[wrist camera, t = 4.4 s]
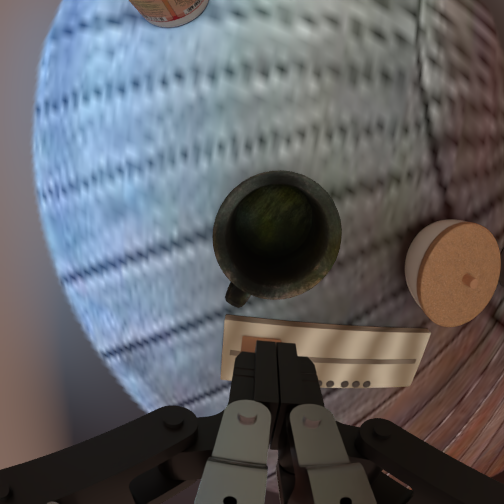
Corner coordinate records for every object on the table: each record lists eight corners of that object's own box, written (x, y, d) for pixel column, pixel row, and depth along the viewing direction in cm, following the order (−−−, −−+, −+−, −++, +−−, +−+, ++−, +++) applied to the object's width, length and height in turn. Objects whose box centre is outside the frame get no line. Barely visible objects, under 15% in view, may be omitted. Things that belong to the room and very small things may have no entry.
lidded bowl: (421, 315, 40) (456, 353, 30) (373, 257, 38) (407, 288, 28) (476, 255, 38) (521, 279, 27) (435, 191, 36) (484, 202, 25)
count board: (426, 328, 41) (431, 333, 39) (406, 380, 43) (410, 386, 42) (226, 314, 41) (224, 320, 39) (221, 373, 44) (220, 380, 42)
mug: (335, 199, 37) (366, 213, 25) (275, 297, 40) (278, 347, 29) (256, 153, 36) (253, 146, 24) (200, 257, 39) (174, 294, 28)
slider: (280, 339, 40) (282, 361, 35) (274, 375, 41) (275, 398, 36) (242, 336, 40) (240, 357, 35) (238, 371, 41) (236, 394, 37)
